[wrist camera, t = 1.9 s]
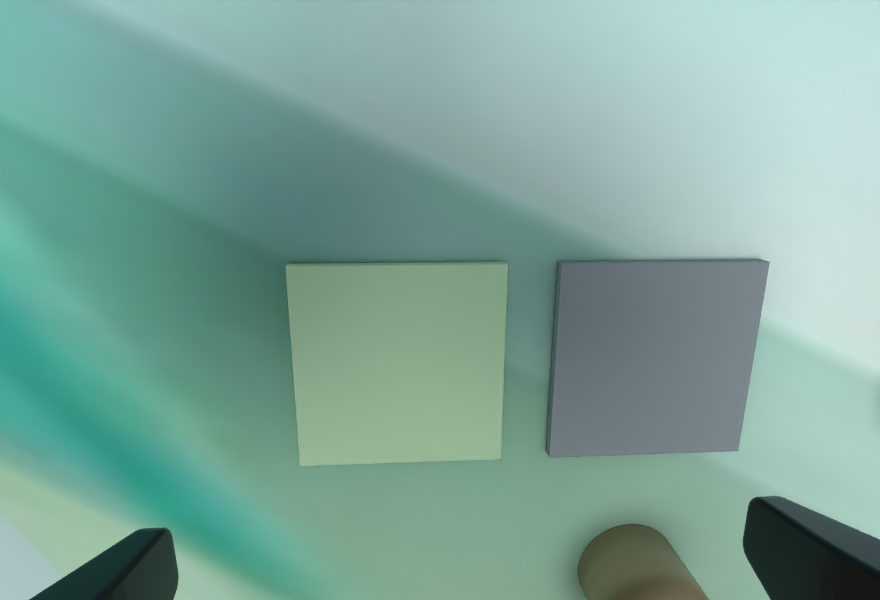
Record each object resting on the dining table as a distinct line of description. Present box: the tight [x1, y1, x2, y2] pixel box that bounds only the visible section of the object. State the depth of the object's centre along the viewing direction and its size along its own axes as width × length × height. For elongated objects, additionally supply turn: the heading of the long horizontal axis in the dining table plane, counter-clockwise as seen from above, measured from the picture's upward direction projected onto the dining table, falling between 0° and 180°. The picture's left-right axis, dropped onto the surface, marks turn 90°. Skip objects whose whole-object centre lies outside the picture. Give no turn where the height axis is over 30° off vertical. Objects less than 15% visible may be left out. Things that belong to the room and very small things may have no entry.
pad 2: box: [546, 260, 769, 457], centre depth 20 cm, size 8×8×1 cm
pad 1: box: [285, 262, 508, 466], centre depth 20 cm, size 8×8×1 cm
